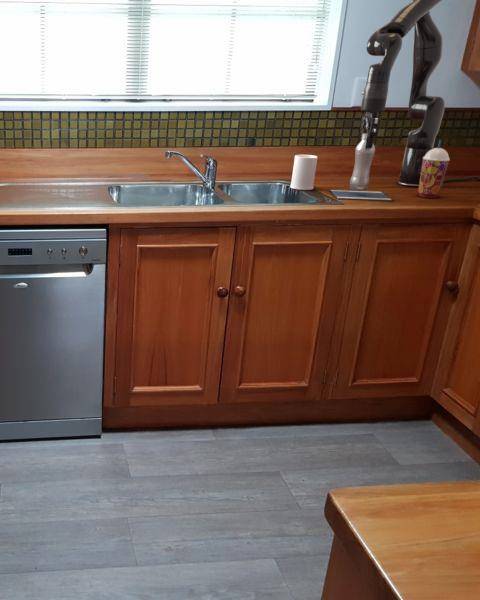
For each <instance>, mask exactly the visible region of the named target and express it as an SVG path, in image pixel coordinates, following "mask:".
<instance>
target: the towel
mask: <svg viewBox="0 0 480 600" xmlns="http://www.w3.org/2000/svg"><path fill="white" fill-rule="evenodd" d="M329 191H330V193H331V194H333V196H335V198H336V199H337V200H346V201H347V200H349V201H372V202H373V201H377V202H393V199H391V198H390V197H389V196H388V195H386V194H385V193H384V192H382V191H378V190H377V191H376V190H375V191H374V190H362V191H356V190H350V189H349V190H347V189H329Z"/></svg>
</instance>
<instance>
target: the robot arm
mask: <svg viewBox="0 0 480 600" xmlns="http://www.w3.org/2000/svg"><path fill="white" fill-rule="evenodd" d="M442 1H443V0H412V1H411V2H410V3H408V4H407V5H405V6H404V7H402V8H400V10H398V12H397V13H396V14H395V15H393V17H392V18H391V20H390V21H388V23H386V24H384V25H383V26H382V27H380V28H378V29H377V30H375V32H373V33H372V34H371V35H370V36H369V38H368V39H367V42H366V45H365V46H366V47H365V49H366V52H367V54H368V55H369V56H372V57H383V58H382V59H381V60H380V62H377V63H373V64H370V65H369V66H368V70H367V75H366V80H365V85H364V89H363V93H362V98H361V99H362V100H361V104H360V111H361V112H365V114H364V113H363V114H362V115H361V122H360V130H359V132H360V134H361V137H362V134H363V133H367V139H366V144H365V148H372V146H373V144H374V141H375V138H376V137H377V136H378V133H379V128H380V124H381V117H379V113H383V112H384V111H385V109H386V104H387V99H388V93H389V83H390V78H391V72H392V70H393V67H394V65H395V62H396V60H397V57H398V56H399V54H400V51H401V50H402V47H403V46H402V45H403V38H404V37H406V35H407V34H408V33H409V32H411V30H412V28H413V41H412V42H413V43H412V45H413V46H412V74H411V75H412V76H411V86H410V93H409V100H408V116H409V118H410V119H411V120H413V121H417V122H422V124H421V126H420V127H419V128H417V129H414V130H411V131H409V132H408V135H407V140H406V144H405V150H404V154H403V158H402V159H403V160H402V163H401V169H400V173H399V178H398V182H397V183H398V185H401V186H405V187H412V188H419V182H420V175H421V168H422V162H423V157H424V156H425V155H426V153H427V152H428V151H430V150H431V149H434V145H435V140H436V138H437V135H438V133H439V131H440V127H441V125H442V124H441V123H442V120H443V117H444V113H445V108H446V102H445V99H444V98H443V97H442V96H438V95H428V93H427V91H428V83H429V79H430V78H431V76H432V75H433V74H434V72H435V71H436V69H437V67H438V66H439V64H440V62H441V60H442V56H443V44H444V43H443V35H442V33H441V31H440V29H439V28H438V26H437V25H436V22H434V19H433V18H432V16H431V12H430V11H432V9H434V8H435V6H437V5H438V4H439V3H440V2H442ZM361 137H360V142H361V141H362V139H361ZM472 179H475V180H477V181H479V182H480V177H479V176H477V175H472V176H471V175H470V176H468V177H459V178H458V177H457V178H455V177H454V178H447V179H444V180H443V183H447V182H458V181H460V182H461V181H468V180H472ZM443 183H442V184H443Z"/></svg>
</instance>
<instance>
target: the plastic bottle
mask: <svg viewBox="0 0 480 600" xmlns="http://www.w3.org/2000/svg"><path fill="white" fill-rule="evenodd" d="M361 136H362V137H360V141H359V143H358V144H357V145H356V147H355V152H354V154H355V155H354V167H353V170H352V174H351V177H350V180H349V188H350V189H351V190H352V191H367V189H368V188H369V186H370V173H371V165H372V161H373V158H374V155H375V153H376V146H375V144H374V143H373V146H372V148H365V144H366V139H367V133H363V134H361ZM361 139H362V141H361Z"/></svg>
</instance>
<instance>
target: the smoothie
mask: <svg viewBox="0 0 480 600" xmlns="http://www.w3.org/2000/svg"><path fill="white" fill-rule="evenodd" d="M441 144H442V139H439V141H438V145H437V147H433V149H431V150H430V151H428V152H427V153H426V155H425V156H424V157H423V162H422V168H421V175H420V182H419V187H418V190H417V192H418V196H419V197H421V198H425V199H436V198H437V197H438V196H439V195H440V193H441V191H442V190H441V189H442V186H443V180H445V176H446V173H447V170H448V167H449V163H450V160H451V159H450V156H449V153H448V151H447V150H446V149H444V148H442V147H441Z"/></svg>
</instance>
